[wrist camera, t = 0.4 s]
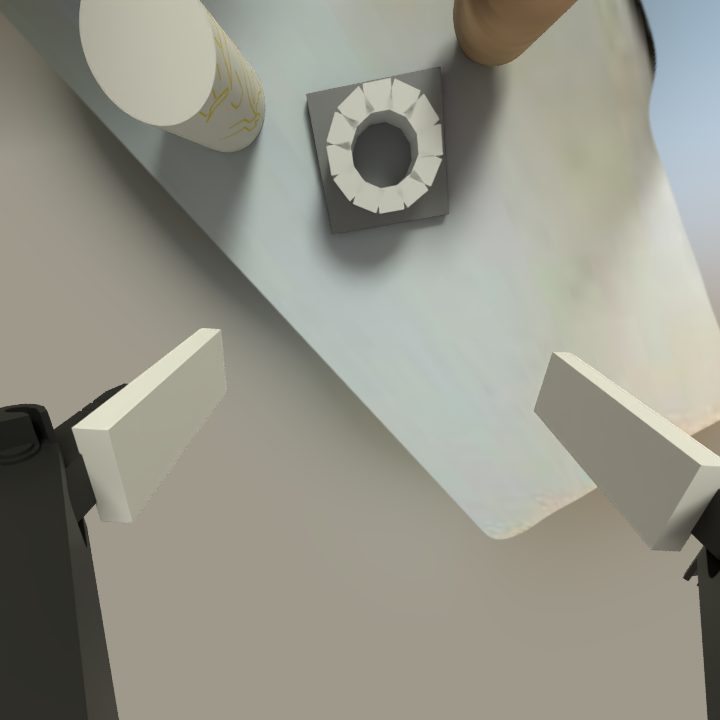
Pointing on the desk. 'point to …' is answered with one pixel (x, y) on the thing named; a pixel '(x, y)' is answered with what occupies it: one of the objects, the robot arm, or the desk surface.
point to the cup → (173, 69)
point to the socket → (382, 150)
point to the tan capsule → (503, 26)
